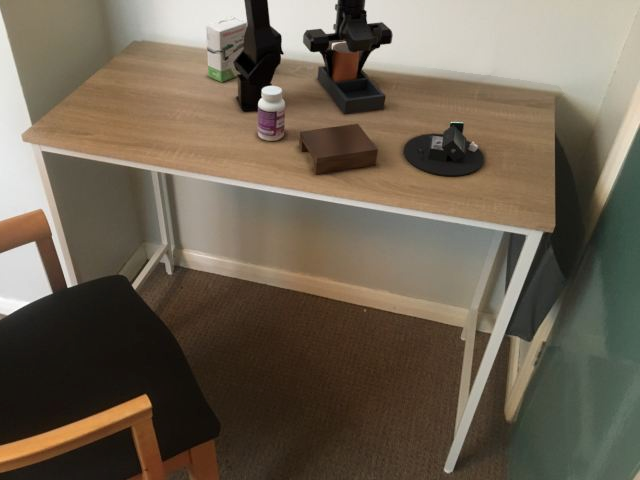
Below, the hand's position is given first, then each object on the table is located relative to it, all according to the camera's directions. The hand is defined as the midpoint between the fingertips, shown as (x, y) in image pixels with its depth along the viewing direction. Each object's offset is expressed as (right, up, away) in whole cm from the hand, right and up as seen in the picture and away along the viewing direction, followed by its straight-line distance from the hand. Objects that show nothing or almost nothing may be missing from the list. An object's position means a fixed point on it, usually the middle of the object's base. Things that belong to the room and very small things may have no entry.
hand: (343, 75), depth 137 cm
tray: (+1, -5, -1) cm, 5 cm away
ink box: (-27, +2, +6) cm, 27 cm away
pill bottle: (-17, -17, -14) cm, 28 cm away
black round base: (+16, -23, -20) cm, 34 cm away
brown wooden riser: (-4, -23, -20) cm, 31 cm away
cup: (0, -1, +1) cm, 2 cm away
